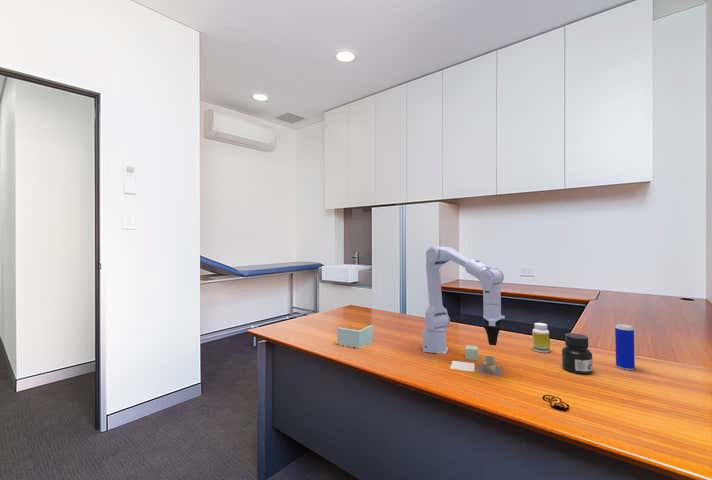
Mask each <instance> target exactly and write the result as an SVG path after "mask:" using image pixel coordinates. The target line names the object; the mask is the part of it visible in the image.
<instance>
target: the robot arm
mask: <svg viewBox="0 0 712 480" xmlns="http://www.w3.org/2000/svg"><path fill="white" fill-rule="evenodd" d="M425 259H426V261H425V269H426V270H425V271H426V283H427V293H428V295H427V296H428V305H429V306H428V308H426V309H425V312H424V319H423V321H424V326H425V327H426V328H423V330H422V352H423V353H430V354H431V353H433V354H447V352H448V350H449V347H447V329H448V327H449V325H450V323H451V319H450V316H449V314H448V309H447V308H446V307H444V305H443V295H442V283H441V275H440V274H441V273H440V269H441V267H442V266H444V265H445V264H446V263H448V262H450V261H452V262H453V263H455V264H457V265H459V266H461V267H463V268H464V269H465V273H467V274H470V275H471V276H473V277H474V278H476V279H478V281H479V282H480V284H481V289H482V295H483V296H482V297H483V301H482V303H483V305H482V306H483V307H482V308H483V314H482V317H483V320H484V321H485V323H484V322H483V325H482V326H483V328H484V330H485V333H486V336H487V341H488V344H489V346H497V342H498V337H499V332H500V330H501V329H502V325H500V323H501V322H502V320H505V317H506V316H505V315H502V301H501V300H502V297H501V296H502V294H501V290H502V289H501V284H503V282H504V279H505V275H504V273H503V271H501V270H500V269H499V268H492V267H491V266H490V265H489V264H488V265H487V264H485V263H483V262H481V260H480V259H479V258H472V259H469V258H467V257H466V256H464V255H463V254H461V253H459V251H456V250H455V248H453V247H451V246H448V245H447V246H446V245H445V246H430V247H428V249H427V250H426V252H425Z"/></svg>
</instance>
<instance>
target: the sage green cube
mask: <svg viewBox="0 0 712 480" xmlns="http://www.w3.org/2000/svg"><path fill="white" fill-rule="evenodd" d="M464 353H465V354H464V357H465V360H471V361H479V346H477V345H476V346H475V345H468V344H466V345H465V348H464Z"/></svg>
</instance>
